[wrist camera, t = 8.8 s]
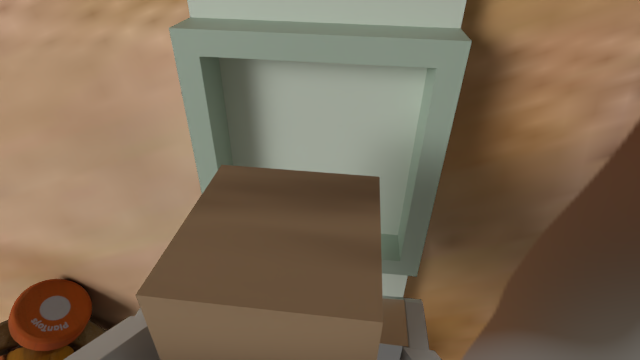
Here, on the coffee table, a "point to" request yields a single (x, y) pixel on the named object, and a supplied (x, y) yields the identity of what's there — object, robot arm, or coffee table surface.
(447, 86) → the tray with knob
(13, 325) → the toy helicopter
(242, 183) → the brown rectangular block
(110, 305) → the coffee table surface
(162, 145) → the coffee table surface
